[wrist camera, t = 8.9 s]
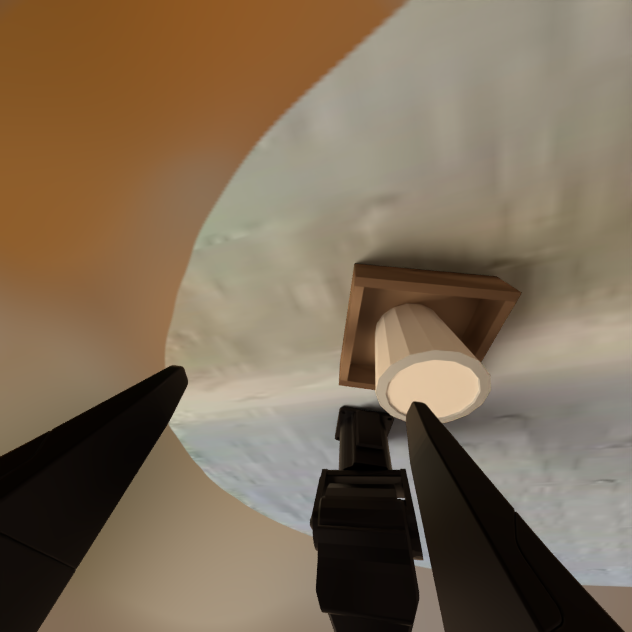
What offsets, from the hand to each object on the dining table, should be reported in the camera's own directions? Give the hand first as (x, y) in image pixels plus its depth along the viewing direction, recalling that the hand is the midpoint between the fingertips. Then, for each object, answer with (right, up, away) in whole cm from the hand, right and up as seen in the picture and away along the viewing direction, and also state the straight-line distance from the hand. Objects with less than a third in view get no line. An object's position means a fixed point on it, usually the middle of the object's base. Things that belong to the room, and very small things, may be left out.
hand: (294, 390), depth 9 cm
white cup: (+9, +2, +12) cm, 15 cm away
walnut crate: (+9, +2, +12) cm, 15 cm away
